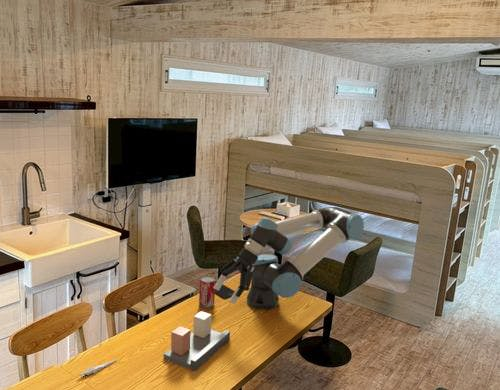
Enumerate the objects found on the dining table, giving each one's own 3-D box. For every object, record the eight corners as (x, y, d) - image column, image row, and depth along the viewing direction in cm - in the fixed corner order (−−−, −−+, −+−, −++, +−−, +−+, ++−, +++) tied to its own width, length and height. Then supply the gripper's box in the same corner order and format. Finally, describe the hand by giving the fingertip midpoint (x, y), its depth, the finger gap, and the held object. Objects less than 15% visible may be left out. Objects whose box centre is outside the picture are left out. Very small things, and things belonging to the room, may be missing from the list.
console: (163, 358, 168) (163, 349, 167) (200, 330, 188) (200, 321, 187) (194, 371, 161) (195, 361, 160) (229, 340, 182) (230, 331, 181)
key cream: (193, 334, 181) (193, 316, 179) (200, 329, 185) (200, 311, 183) (203, 338, 178) (204, 319, 176) (210, 332, 183) (211, 314, 181)
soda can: (205, 300, 215) (206, 274, 212) (217, 304, 211) (218, 278, 208) (195, 305, 209) (196, 279, 206) (207, 310, 205) (208, 283, 202)
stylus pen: (81, 380, 153) (81, 375, 153) (77, 376, 155) (77, 371, 155) (120, 363, 165) (120, 358, 164) (115, 360, 166) (115, 355, 166)
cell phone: (224, 299, 217) (224, 298, 216) (202, 286, 230) (202, 284, 229) (238, 295, 222) (238, 293, 222) (216, 282, 235) (216, 280, 235)
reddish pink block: (171, 351, 168) (171, 331, 167) (179, 345, 173) (179, 326, 171) (182, 355, 166) (182, 335, 164) (190, 349, 170) (190, 329, 169)
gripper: (230, 238, 197) (203, 280, 194) (261, 257, 176) (232, 305, 174) (242, 246, 201) (216, 287, 198) (273, 265, 180) (245, 312, 178)
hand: (223, 295), depth 186 cm, fingers open, 13 cm apart
